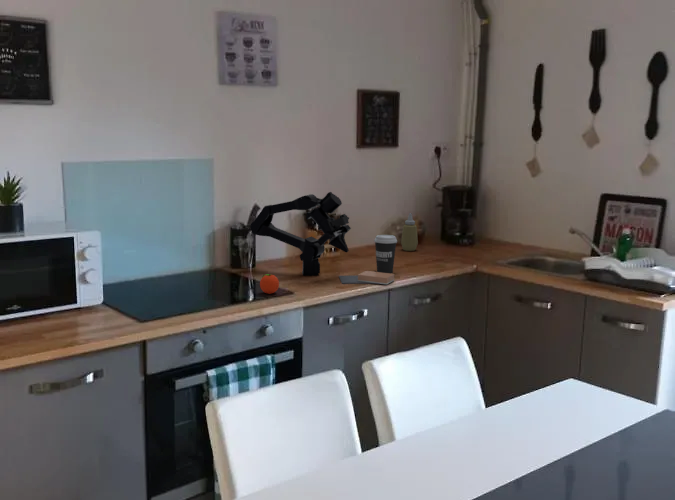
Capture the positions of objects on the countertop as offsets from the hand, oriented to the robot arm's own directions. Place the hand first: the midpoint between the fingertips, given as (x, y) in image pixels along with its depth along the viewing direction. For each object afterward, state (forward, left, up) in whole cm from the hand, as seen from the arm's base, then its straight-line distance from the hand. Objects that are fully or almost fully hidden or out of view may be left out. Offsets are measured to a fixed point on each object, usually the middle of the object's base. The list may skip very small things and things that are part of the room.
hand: (347, 251), depth 275 cm
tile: (+11, -6, -9) cm, 15 cm away
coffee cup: (+17, +11, -11) cm, 23 cm away
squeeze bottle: (+37, +59, -11) cm, 70 cm away
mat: (+4, -3, -11) cm, 12 cm away
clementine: (-31, -22, -11) cm, 40 cm away
